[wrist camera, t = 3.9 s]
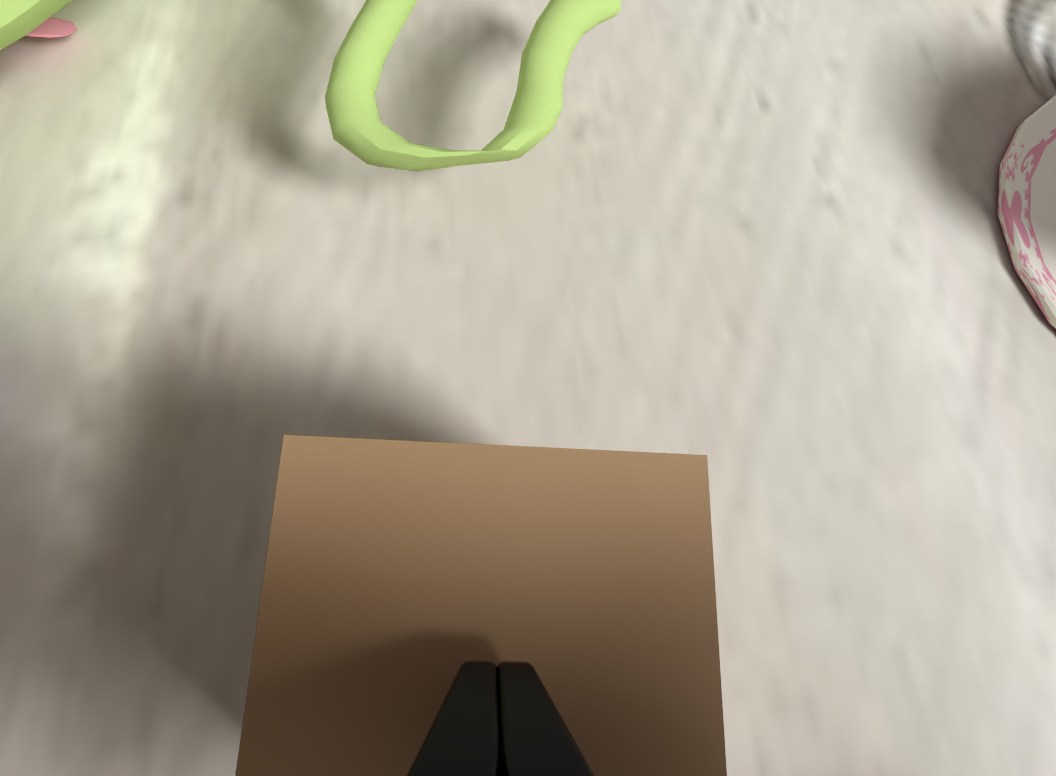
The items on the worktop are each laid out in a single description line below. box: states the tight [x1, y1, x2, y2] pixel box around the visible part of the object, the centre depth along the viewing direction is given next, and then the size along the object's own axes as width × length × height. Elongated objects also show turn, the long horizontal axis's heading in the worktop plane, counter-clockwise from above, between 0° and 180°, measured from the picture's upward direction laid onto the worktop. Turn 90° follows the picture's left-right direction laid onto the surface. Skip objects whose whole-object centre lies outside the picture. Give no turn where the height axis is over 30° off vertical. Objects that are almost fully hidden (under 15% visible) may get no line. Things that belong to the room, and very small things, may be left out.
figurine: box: [0, 0, 621, 171], centre depth 19 cm, size 18×27×6 cm
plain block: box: [236, 435, 727, 776], centre depth 13 cm, size 6×6×8 cm
